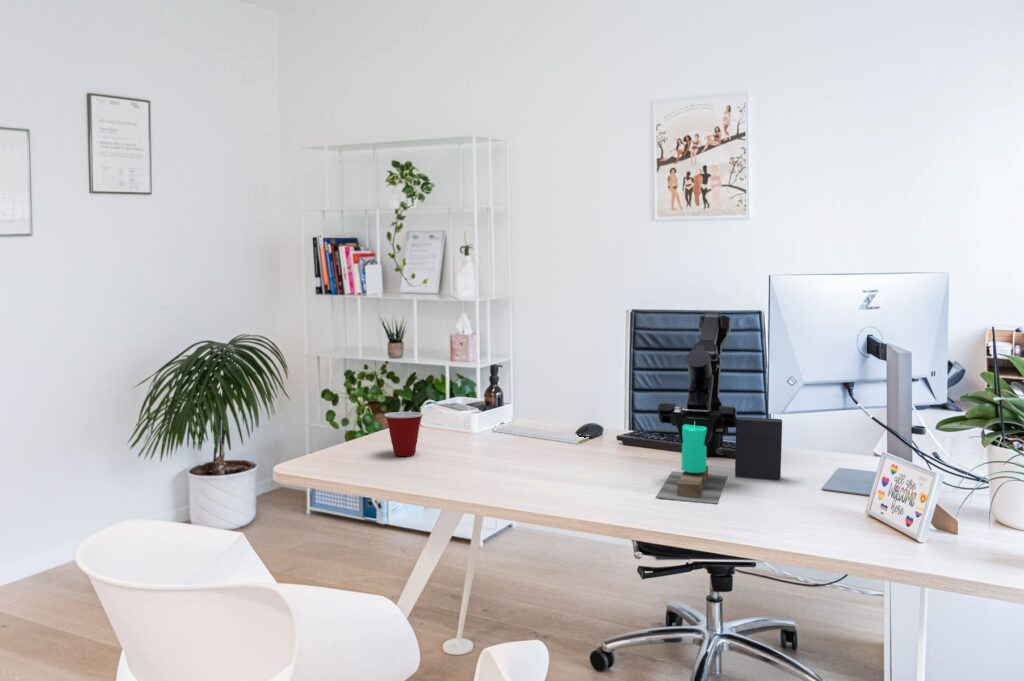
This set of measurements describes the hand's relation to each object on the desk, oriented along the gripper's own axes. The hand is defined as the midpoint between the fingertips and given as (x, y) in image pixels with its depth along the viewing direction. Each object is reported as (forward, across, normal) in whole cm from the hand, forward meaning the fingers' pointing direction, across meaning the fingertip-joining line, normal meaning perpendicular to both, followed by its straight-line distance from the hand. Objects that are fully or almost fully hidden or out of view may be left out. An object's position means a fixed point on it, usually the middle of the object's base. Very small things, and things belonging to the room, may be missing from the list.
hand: (693, 444), depth 211 cm
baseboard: (-21, +52, -38) cm, 68 cm away
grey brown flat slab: (+8, 0, -8) cm, 11 cm away
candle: (+4, 0, -6) cm, 7 cm away
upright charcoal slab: (-2, -14, -18) cm, 23 cm away
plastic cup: (+2, +81, -13) cm, 82 cm away
